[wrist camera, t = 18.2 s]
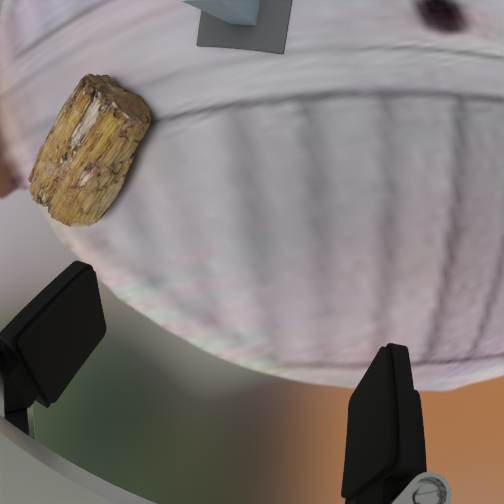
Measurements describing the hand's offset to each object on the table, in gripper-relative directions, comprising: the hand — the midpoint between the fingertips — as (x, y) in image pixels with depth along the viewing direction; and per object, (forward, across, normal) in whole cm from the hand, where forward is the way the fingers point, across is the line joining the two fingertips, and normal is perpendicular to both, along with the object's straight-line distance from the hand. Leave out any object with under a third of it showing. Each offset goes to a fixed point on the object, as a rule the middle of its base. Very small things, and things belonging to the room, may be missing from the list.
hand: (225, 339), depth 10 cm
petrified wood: (+31, +26, +4) cm, 41 cm away
